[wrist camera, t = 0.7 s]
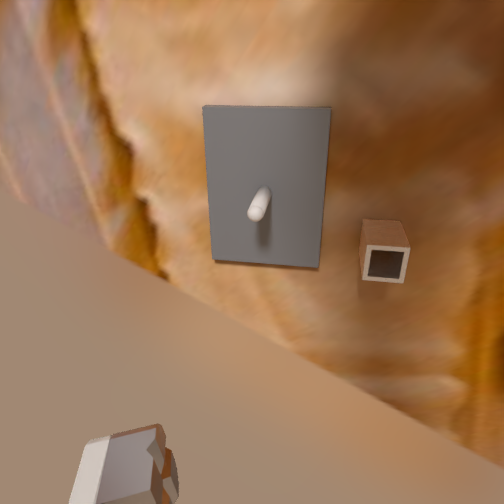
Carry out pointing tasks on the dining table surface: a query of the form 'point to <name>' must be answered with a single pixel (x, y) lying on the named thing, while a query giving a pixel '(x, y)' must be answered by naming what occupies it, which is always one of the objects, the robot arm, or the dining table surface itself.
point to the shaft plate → (266, 182)
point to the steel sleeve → (383, 251)
